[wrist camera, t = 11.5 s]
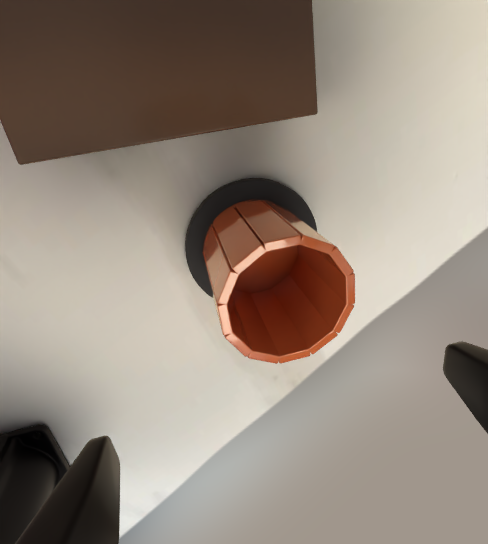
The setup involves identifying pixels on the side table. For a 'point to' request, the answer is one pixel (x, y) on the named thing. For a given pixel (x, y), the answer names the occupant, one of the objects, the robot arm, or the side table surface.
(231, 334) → the cup
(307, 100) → the shelf
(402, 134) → the side table surface
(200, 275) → the coaster
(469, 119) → the side table surface
